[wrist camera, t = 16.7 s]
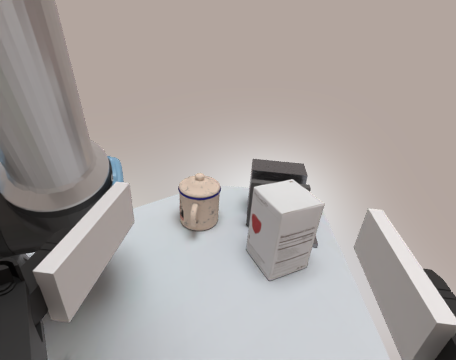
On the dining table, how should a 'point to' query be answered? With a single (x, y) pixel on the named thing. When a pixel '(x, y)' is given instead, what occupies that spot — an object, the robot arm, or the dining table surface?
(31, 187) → the robot arm
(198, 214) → the teacup with lid
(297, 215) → the supplement box
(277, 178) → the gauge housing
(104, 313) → the dining table surface
